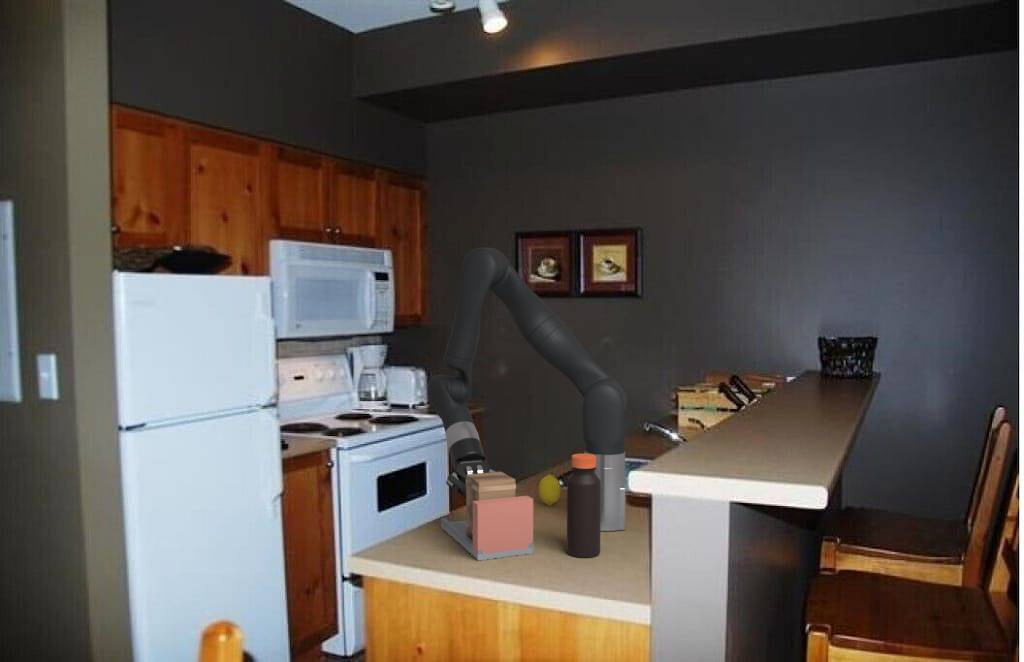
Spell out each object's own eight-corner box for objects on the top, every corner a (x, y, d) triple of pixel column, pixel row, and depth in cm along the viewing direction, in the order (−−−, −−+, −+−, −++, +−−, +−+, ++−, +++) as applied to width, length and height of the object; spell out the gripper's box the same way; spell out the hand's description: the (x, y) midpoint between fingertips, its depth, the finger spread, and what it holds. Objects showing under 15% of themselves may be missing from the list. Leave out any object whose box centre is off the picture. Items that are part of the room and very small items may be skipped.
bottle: (565, 557, 155) (566, 458, 154) (568, 547, 162) (568, 452, 161) (599, 559, 154) (600, 459, 153) (600, 548, 161) (601, 453, 160)
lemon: (558, 509, 191) (558, 477, 191) (536, 508, 193) (536, 476, 192) (561, 503, 197) (562, 472, 197) (540, 502, 198) (540, 471, 198)
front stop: (472, 550, 156) (472, 501, 155) (527, 543, 160) (527, 495, 160) (477, 554, 153) (477, 504, 152) (533, 547, 157) (533, 499, 157)
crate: (465, 535, 165) (465, 474, 165) (501, 530, 168) (501, 471, 168) (478, 546, 158) (478, 482, 157) (515, 541, 161) (516, 479, 160)
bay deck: (441, 528, 175) (441, 518, 175) (490, 522, 180) (490, 513, 180) (477, 561, 153) (477, 550, 153) (533, 553, 157) (533, 542, 157)
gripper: (440, 438, 173) (458, 506, 162) (495, 434, 178) (516, 499, 167) (433, 457, 178) (450, 524, 167) (487, 453, 183) (506, 517, 172)
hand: (483, 512), depth 167 cm, fingers closed
